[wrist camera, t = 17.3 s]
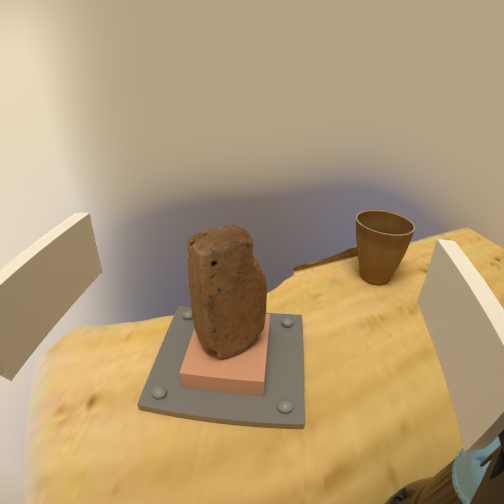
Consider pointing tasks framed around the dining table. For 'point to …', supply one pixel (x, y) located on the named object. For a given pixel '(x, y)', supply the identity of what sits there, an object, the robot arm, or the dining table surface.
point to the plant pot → (381, 243)
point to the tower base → (231, 404)
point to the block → (226, 290)
